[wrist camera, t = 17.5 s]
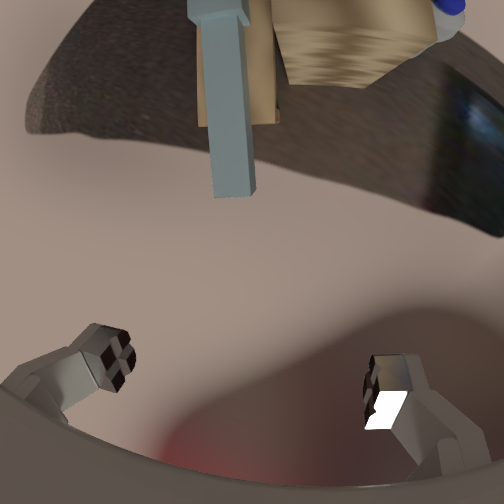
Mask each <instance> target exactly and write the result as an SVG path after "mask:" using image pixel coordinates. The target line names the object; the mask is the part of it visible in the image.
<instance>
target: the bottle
mask: <svg viewBox="0 0 504 504" xmlns="http://www.w3.org/2000/svg"><path fill="white" fill-rule="evenodd" d="M431 2H432V7H433V13H434V18H435V24H436V31H437V38H438V41H436V42H443V41H445V40H448V39H450V38H452V37H453V36H454V35H455V34H456V32H457V31H458V30H459V29H460V28H461V27H462V26H463V25H464V22H465V14H464V9H465V0H431ZM436 42H434V43H433V44H435V43H436ZM433 44H431V45H433ZM431 45H430V46H431ZM430 46H428V47H430ZM428 47H426V48H428ZM426 48H425V49H426ZM425 49H423V50H422V51H420V52H418V53H417V54H415V55H414V56H412V57H411V58H414V57H416V56H418V55H419V54H421V53H422V52H423V51H424V50H425Z"/></svg>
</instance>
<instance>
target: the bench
mask: <svg viewBox="0 0 504 504" xmlns="http://www.w3.org/2000/svg"><path fill="white" fill-rule="evenodd" d="M249 8H250V19H251V25H249V26H244V34H245V46H246V59H247V71H248V84H249V97H250V110H251V124H277V123H280V111H279V110H278V109H277V108H276V69H275V39H274V26H273V23H272V4H271V0H249ZM197 99H198V126H199V127H206V126H208V123H207V110H206V97H205V83H204V69H203V53H202V36H201V29H200V28H199V27H198V26H197Z"/></svg>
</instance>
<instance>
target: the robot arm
mask: <svg viewBox="0 0 504 504" xmlns="http://www.w3.org/2000/svg"><path fill="white" fill-rule="evenodd" d="M130 340H131V338H130V336H129V333H128V332H127V331H125V330H122V329H118V328H114V327H110V326H106V325H100V324H96V323H92V324H90V325H89V326H88V327H87V328H86V329H85V330H84V331H83V332H82V333H81V334H80V335H79V336H78V337H77V338H76V339H75V340H74V341H73V343H72V344H71V345H70V346H69V347H63V348H60V349H58V350H55V351H53V352H51V353H48V354H46V355H43V356H41V357H38V358H36V359H33V360H31V361H28V362H26V363H23V364H21V365H19V366H17V368H16V369H15V370H14V371H13V372H12V373H11V374H10V375H9V376H8V377H7V378H6V379H5V380H4V381H3V383H1V384H0V504H504V459H502V460H499V461H496V462H493V463H492V462H491V459H490V455H489V451H488V448H487V444H486V441H485V437H484V434H483V431H482V430H481V429H480V428H479V427H478V426H477V425H475V424H474V423H473V422H472V421H471V420H470V419H468V418H467V417H466V416H465V415H463V414H462V413H461V412H460V411H459V410H458V409H456V408H455V407H454V406H453V405H452V404H450V403H449V402H448V401H447V400H446V399H445V398H443V397H442V396H441V395H440V394H439V393H437V392H436V391H435V390H430V388H429V385H428V382H427V379H426V376H425V373H424V370H423V366H422V363H421V361H420V358H419V355H418V354H417V353H408V354H407V353H406V354H378V355H377V354H376V355H375V354H372V355H371V357H370V360H369V371H368V372H367V373H366V374H365V378H364V382H363V402H364V403H365V404H366V408H365V411H364V419H365V429H378V428H379V429H381V428H391V431H392V432H393V433H394V435H395V436H396V437H397V438H398V440H399V441H400V442H401V444H402V445H403V446H404V447H405V449H406V450H407V451H408V453H409V454H410V455H411V456H412V458H413V459H414V460H415V462H416V463H417V464H418V467H417V468H416V469H415V470H414V472H413V473H412V474H411V475H410V476H409V477H408V478H407V480H406V482H404V483H396V484H386V485H374V486H358V487H308V486H291V485H279V484H268V483H261V482H252V481H246V480H240V479H234V478H228V477H223V476H217V475H212V474H208V473H203V472H199V471H195V470H190V469H187V468H183V467H178V466H175V465H172V464H168V463H165V462H161V461H158V460H155V459H152V458H149V457H145V456H143V455H140V454H137V453H133V452H131V451H128V450H126V449H123V448H120V447H118V446H115V445H113V444H110V443H108V442H105V441H103V440H101V439H98V438H96V437H94V436H91V435H89V434H87V433H85V432H82V431H80V430H78V429H76V428H74V427H72V426H70V425H68V420H67V418H66V417H65V415H64V414H63V413H62V412H63V411H65V410H66V409H68V408H69V407H71V406H73V405H74V404H76V403H77V402H79V401H81V400H82V399H84V398H85V397H87V396H88V395H90V394H92V393H93V392H95V391H97V390H98V389H99V388H101V389H104V390H107V391H111V392H114V393H118V391H119V390H120V388H121V387H122V385H123V384H124V382H125V376H126V375H127V374H129V373H131V372H132V370H133V369H134V367H135V363H136V353H135V350H134V348H133V347H132V346H131V345H130V344H129V342H130Z"/></svg>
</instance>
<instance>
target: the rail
mask: <svg viewBox="0 0 504 504" xmlns="http://www.w3.org/2000/svg"><path fill="white" fill-rule="evenodd" d="M187 7H188V18H189V19H190V20H191V21H192V22H193V23H195V24H196V25H197V26H198V27H199V28H200V29H201V36H202V53H203V69H204V83H205V97H206V110H207V123H208V134H209V146H210V157H211V168H212V178H213V188H214V198H222V197H245V196H251V195H252V194H253V193H254V192H255V190H256V180H255V166H254V151H253V137H252V124H251V110H250V97H249V84H248V71H247V59H246V46H245V34H244V26H249V25H251V19H250V8H249V0H187Z"/></svg>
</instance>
